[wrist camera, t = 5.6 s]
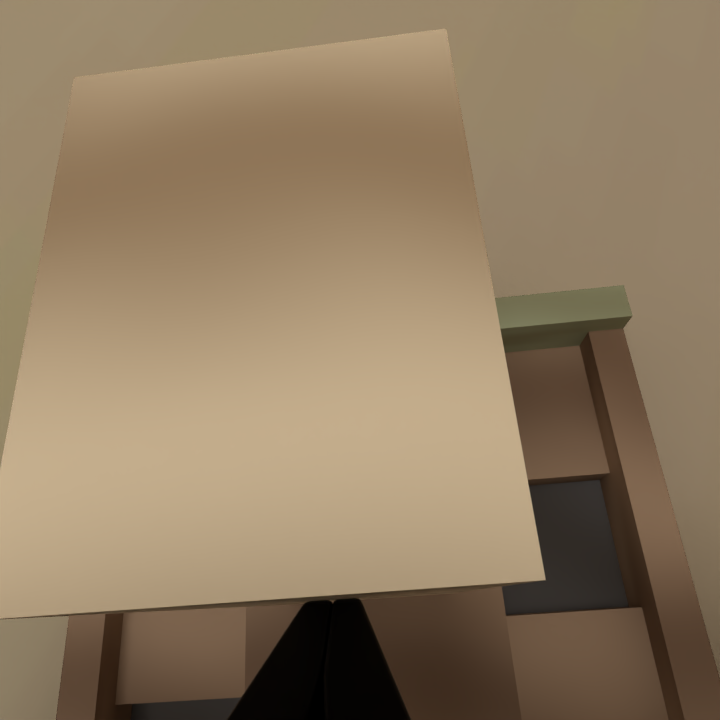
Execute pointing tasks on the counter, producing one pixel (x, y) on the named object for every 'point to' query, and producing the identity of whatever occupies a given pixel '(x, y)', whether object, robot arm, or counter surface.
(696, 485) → the counter surface
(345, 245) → the beech block
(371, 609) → the trap lane
